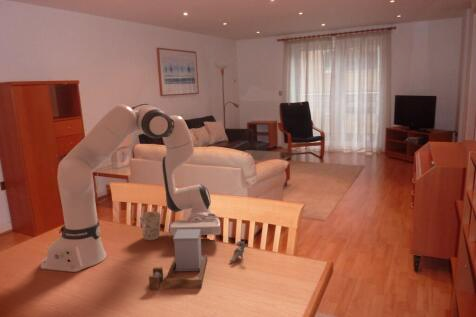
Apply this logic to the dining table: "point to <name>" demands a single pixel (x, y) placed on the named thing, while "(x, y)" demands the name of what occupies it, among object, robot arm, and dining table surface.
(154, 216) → the mug
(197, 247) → the gray rectangular block
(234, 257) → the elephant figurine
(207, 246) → the dining table surface
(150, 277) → the bay
